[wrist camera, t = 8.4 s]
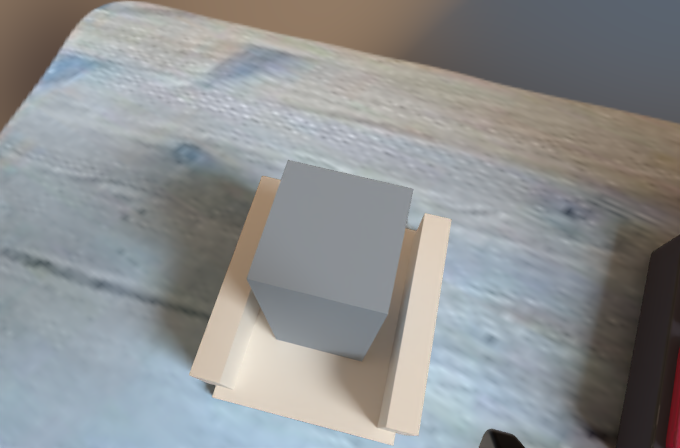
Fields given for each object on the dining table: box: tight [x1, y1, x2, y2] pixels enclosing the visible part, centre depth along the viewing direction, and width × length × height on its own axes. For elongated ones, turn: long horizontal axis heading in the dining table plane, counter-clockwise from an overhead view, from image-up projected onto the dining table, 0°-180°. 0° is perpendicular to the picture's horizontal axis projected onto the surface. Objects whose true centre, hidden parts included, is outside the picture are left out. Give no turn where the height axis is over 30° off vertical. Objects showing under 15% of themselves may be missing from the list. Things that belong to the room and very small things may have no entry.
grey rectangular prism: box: [246, 160, 413, 362], centre depth 17 cm, size 4×4×9 cm
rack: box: [189, 176, 451, 445], centre depth 20 cm, size 10×9×4 cm
